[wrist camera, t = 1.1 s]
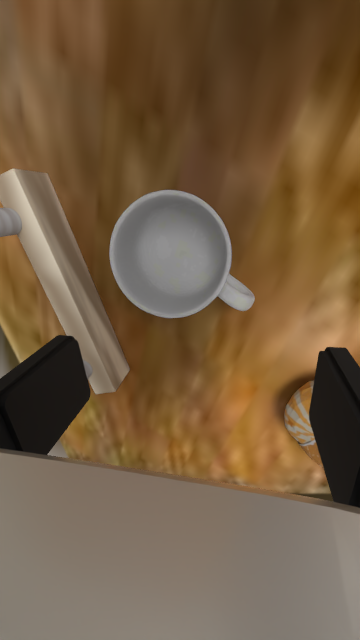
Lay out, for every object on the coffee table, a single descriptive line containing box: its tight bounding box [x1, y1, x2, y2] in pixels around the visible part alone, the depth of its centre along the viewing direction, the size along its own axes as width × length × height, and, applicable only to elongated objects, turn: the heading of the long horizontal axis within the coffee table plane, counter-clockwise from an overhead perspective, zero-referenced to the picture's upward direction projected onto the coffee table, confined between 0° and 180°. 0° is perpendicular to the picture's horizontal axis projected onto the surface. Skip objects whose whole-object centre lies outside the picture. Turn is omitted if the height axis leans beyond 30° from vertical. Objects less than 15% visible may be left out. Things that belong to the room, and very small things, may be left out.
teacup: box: [109, 190, 255, 318], centre depth 27 cm, size 14×11×8 cm
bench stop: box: [0, 169, 130, 394], centre depth 31 cm, size 4×26×8 cm, turn 18°
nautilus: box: [284, 381, 324, 468], centre depth 32 cm, size 8×22×15 cm
